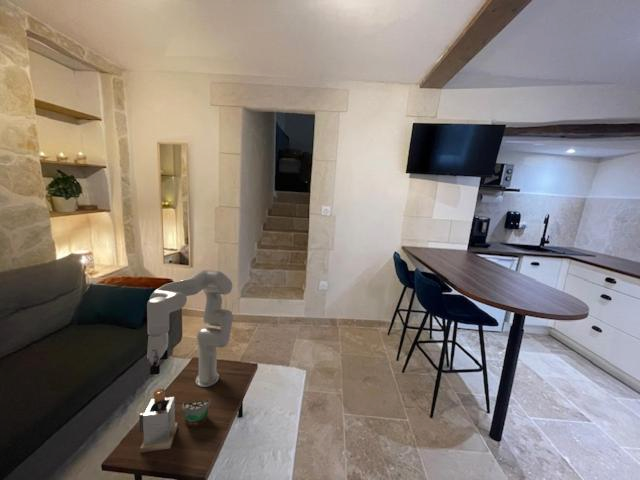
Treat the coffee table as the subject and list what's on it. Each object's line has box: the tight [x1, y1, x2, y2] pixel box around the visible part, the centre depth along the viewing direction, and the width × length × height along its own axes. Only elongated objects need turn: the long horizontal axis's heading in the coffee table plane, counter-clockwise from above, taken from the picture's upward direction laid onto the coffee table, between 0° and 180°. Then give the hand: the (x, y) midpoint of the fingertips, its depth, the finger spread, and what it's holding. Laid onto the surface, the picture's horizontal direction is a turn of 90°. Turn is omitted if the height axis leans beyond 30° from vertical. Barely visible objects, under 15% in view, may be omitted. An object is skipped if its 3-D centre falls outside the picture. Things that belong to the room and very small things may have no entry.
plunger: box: [153, 388, 166, 411], centre depth 111 cm, size 5×5×20 cm
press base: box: [139, 421, 179, 454], centre depth 113 cm, size 11×11×2 cm
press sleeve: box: [139, 396, 176, 446], centre depth 111 cm, size 9×12×14 cm
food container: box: [181, 398, 211, 429], centre depth 121 cm, size 12×6×10 cm, turn 105°
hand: (159, 366), depth 108 cm, fingers open, 9 cm apart
